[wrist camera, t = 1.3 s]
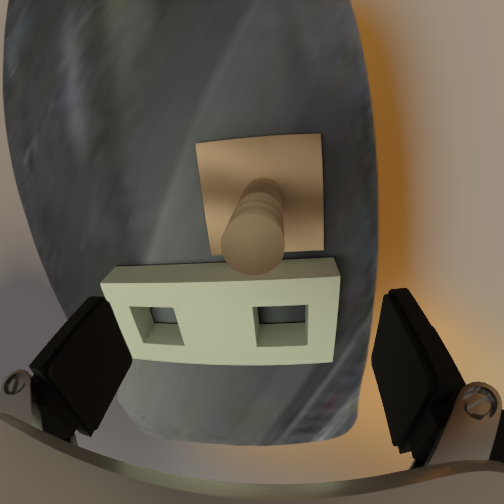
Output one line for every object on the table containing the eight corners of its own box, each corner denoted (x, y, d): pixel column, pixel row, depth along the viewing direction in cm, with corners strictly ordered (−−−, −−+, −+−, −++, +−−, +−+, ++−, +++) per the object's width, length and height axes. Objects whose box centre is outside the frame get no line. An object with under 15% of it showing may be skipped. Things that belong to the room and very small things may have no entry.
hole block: (115, 266, 28) (99, 283, 25) (333, 257, 26) (340, 276, 22) (141, 338, 32) (131, 358, 29) (328, 339, 30) (332, 361, 27)
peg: (241, 179, 23) (216, 218, 14) (280, 177, 23) (282, 214, 14) (245, 217, 24) (224, 276, 15) (283, 214, 24) (286, 274, 15)
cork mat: (197, 143, 22) (195, 143, 22) (319, 133, 21) (320, 133, 21) (212, 253, 26) (211, 255, 26) (322, 247, 25) (323, 249, 25)
